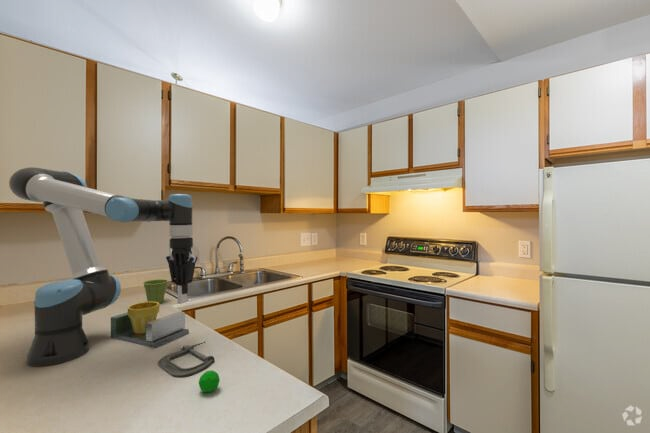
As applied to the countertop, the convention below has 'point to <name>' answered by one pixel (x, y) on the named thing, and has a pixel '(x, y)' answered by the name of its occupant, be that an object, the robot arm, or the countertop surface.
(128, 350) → the countertop surface
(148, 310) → the plant pot
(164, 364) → the c clamp
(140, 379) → the countertop surface
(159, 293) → the plant pot
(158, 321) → the steel jaw
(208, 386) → the polyhedron
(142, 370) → the countertop surface
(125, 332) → the vise base
